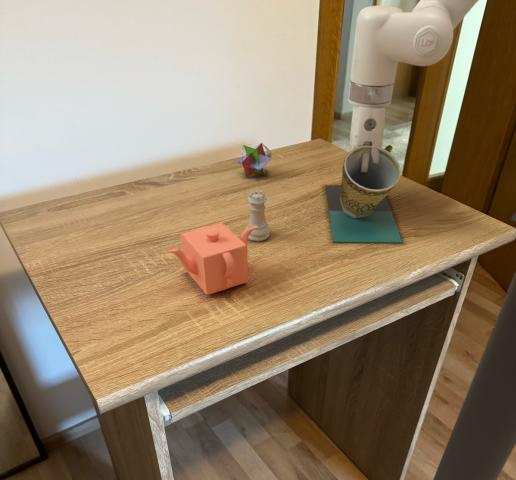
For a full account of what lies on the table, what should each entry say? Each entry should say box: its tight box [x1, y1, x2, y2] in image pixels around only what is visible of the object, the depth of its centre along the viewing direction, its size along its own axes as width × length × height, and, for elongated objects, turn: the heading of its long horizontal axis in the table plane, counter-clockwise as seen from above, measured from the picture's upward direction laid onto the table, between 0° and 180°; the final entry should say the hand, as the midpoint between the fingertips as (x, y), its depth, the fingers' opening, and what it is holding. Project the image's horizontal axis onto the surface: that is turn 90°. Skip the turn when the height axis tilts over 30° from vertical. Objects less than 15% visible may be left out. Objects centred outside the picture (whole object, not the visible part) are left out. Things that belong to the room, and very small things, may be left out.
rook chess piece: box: [245, 190, 271, 242], centre depth 85 cm, size 4×4×8 cm
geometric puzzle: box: [237, 142, 273, 179], centre depth 107 cm, size 7×7×8 cm
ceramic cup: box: [340, 144, 402, 218], centre depth 89 cm, size 13×10×10 cm
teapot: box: [165, 222, 257, 296], centre depth 75 cm, size 12×15×8 cm
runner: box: [325, 184, 403, 244], centre depth 95 cm, size 12×24×1 cm, turn 177°
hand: (356, 193), depth 97 cm, fingers closed
